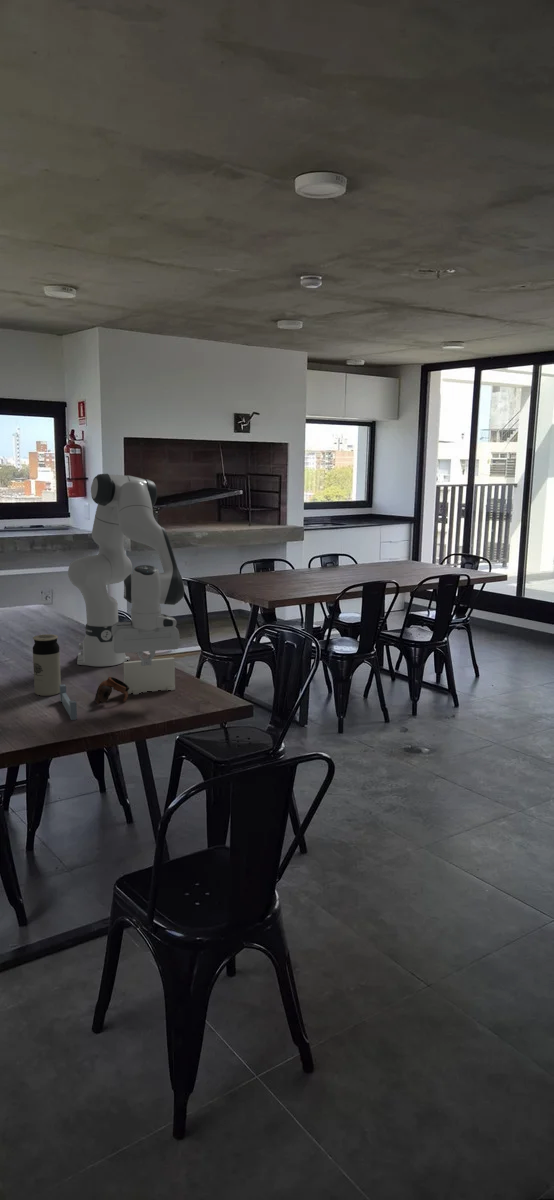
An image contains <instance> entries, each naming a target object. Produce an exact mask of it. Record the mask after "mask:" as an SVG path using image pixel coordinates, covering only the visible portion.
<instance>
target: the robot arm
mask: <svg viewBox="0 0 554 1200" xmlns="http://www.w3.org/2000/svg"><path fill="white" fill-rule="evenodd" d="M90 493H91V494H90V495H91V499H92V501H93V502H94V503H95V504H97V506H96V511H95V514H94V519H93V525H92V530H91V538H92V540H93V542H94V543H95V544H96V545H98V549H99V550H98V554H96V555H95V554H94V555H86V556H82V557H79V558H77V559H75V560H73V561H72V562H71V563H70V564H69V566H68V569H67V575H68V579H69V581H70V582H71V584H72V585H73V586H75V587H76V588H77V589H78V590H79V592H80V593H81V595H82V598H83V599H84V600H83V601H84V604H85V614H86V624H85V636H84V639H83V640H82V642H80V643H78V650H79V651H80V652H78V653H77V662H76V663H77V664H76V665H81V666H87V667H88V666H90V667H110V666H111V667H112V666H116V665H117V666H118V665H120V664H124V662H128V661H131V660H130V659H131V657H130V656H129V655H126V653H127V654H130V653H136V654H137V656H138V658H139V659H140V660H141V665H142V666H146V665H152V659H154V657H155V655H156V651H171V650H178V649H179V647H180V646H181V639H180V638H181V637H180V632H179V628H177V627H176V626H177V620H176V619H175V618H174V617H173V616H170V615H169V614H164V613H162V608H161V605H169V606H170V605H171V606H172V605H173V606H174V605H176V604H178V603H179V602H180V601H182V599H184V596H185V584H184V581H183V578H182V575H181V573H180V570H179V568H178V564H177V560H176V558H175V554H174V550H173V547H172V545H171V542H170V538H169V536H168V533H167V531H166V528H165V527H163V526H161V525H160V524H159V523H158V522H157V519H155V516H154V511H153V509H154V508H153V507H154V506H155V505H156V502H157V500H158V488H157V484H155V482H154V481H153V480H150V479H148V478H141V477H137V476H132V475H127V474H125V475H122V474H121V475H120V474H110V473H109V474H108V473H100V474H97V475H96V476H95V477H94V478H93V479H92V483H91V485H90ZM125 537H126V538H128V539H129V540H131V541H133V542H136V543H138V544H142V545H145V546H147V547H150V548H152V550H155V551H156V552H157V554H158V556H159V558H160V559H159V560H160V562H161V563H160V564H161V567H162V571H163V572H159V571H160V570H159V568H158V567H155V566H154V565H149V564H147V565H146V564H144V565H143V564H142V565H138V566H135V567H134V568H133V564H132V561H131V559H130V558H129V557H128V555H127V554H126V552H125V547H124V544H125V541H124V540H125ZM121 582H123V588H124V589H123V598H124V600H126V601H127V602H128V603H129V604H132V605H131V609H130V614H131V615H130V621H129V620H128V621H119V605H118V602H117V600H116V599H115V598H114V597H113V596H111V595H110V594H109V592H108V589H107V586H108V585H113V584H119V583H121ZM145 652H148V653H149V656H148V658H144V657H143V655H144V653H145ZM127 660H128V661H127Z"/></svg>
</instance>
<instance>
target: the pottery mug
mask: <svg viewBox="0 0 554 1200" xmlns="http://www.w3.org/2000/svg"><path fill="white" fill-rule="evenodd" d="M113 690H114V691H117V692H119V693H122V694H123V695H124V697H123V702H124V703H125V702H127V700H128V698H129V694H128V690H129V687H128V686H127V685H126V684H125V683H124V681H122V680H120V679H118V678H115V677H112V676H108V678H107V679H105V680H103V681H102V682H101V683H100V684H99V685H98V687H97V689H96V692H95V698H94V703H97V704H100V702H101V703H108V700H109V697H110V696H111V695H112V692H113Z"/></svg>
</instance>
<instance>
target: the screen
mask: <svg viewBox="0 0 554 1200" xmlns="http://www.w3.org/2000/svg"><path fill="white" fill-rule="evenodd" d="M175 663H176V661H175V657H174V656H173V657H164V658H153V659H152V665H146V666H142V665H141V659H140V660H128V661H124V662H123V683H125V684H126V685H127V686H128V687H129V690H128V695H139V693H141V692H143V693H148V692H147V691H152V692H158V690H161V691H168V690H171V691H175V690H176V669H175V667H176V666H175V665H176V664H175ZM131 693H133V694H131ZM141 694H142V693H141Z"/></svg>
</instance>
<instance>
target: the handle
mask: <svg viewBox="0 0 554 1200" xmlns="http://www.w3.org/2000/svg"><path fill="white" fill-rule="evenodd" d="M59 700H60V701H59V702H60V703H61V702H62V703H61V704H62V705H63V707H64V709H65V711H66V713H67V714H68V716H69V719H70V720H71V721H76V719H77V720H78V710H77V709H78V708H77V701H76V700H71V699H70V697H69V695H68V694H67V685H66V684H65V683H63V684H62V683H61V685H60V693H59Z"/></svg>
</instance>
